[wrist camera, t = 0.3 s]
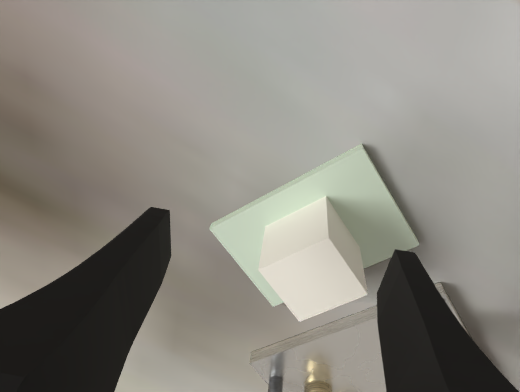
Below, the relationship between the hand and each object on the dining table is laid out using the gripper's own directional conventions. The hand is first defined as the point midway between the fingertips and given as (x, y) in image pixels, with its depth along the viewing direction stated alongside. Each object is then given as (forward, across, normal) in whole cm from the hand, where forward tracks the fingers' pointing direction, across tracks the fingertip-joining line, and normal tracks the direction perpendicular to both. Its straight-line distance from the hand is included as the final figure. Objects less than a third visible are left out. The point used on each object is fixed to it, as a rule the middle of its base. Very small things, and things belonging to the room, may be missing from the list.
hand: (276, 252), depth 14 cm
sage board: (+10, -2, +7) cm, 12 cm away
